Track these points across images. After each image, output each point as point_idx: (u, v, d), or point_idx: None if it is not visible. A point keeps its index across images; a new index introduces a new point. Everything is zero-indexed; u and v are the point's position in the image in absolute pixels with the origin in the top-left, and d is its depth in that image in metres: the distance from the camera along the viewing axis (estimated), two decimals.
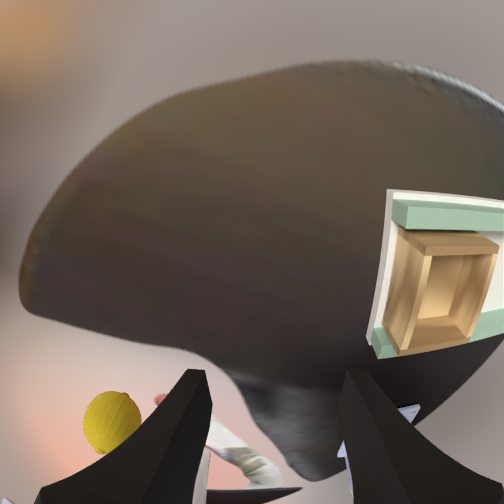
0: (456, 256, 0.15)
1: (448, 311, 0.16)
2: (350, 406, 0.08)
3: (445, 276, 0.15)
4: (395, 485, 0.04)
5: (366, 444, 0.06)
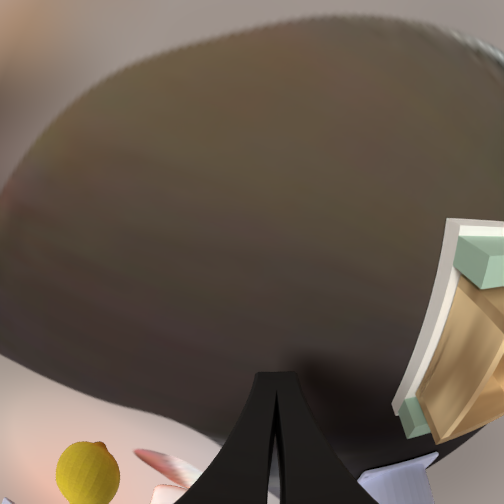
0: None
1: (494, 370, 0.10)
2: (276, 411, 0.08)
3: None
4: (285, 501, 0.04)
5: (281, 452, 0.06)
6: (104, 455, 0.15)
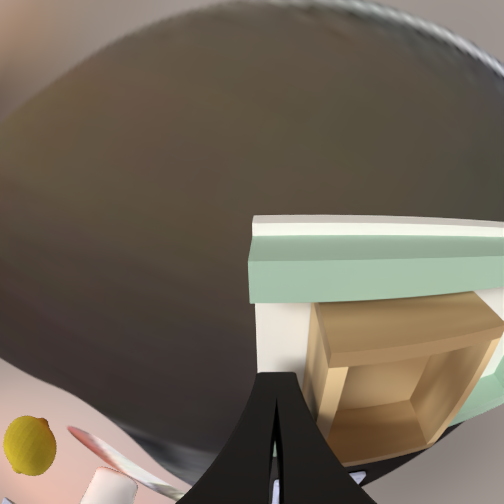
0: None
1: (410, 395, 0.10)
2: None
3: None
4: (284, 502, 0.04)
5: (280, 452, 0.06)
6: (41, 428, 0.16)
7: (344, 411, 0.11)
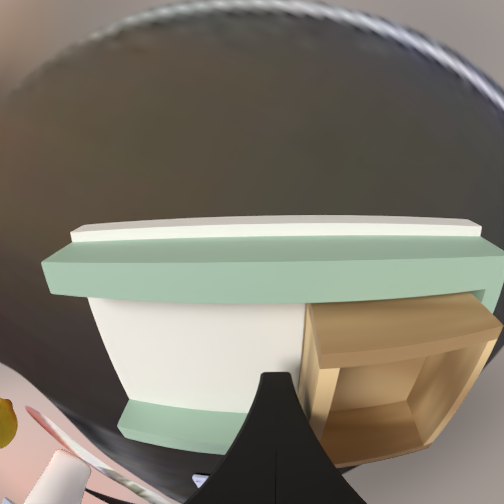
0: None
1: (407, 396, 0.10)
2: None
3: None
4: (275, 502, 0.04)
5: None
6: (4, 406, 0.16)
7: (340, 412, 0.11)
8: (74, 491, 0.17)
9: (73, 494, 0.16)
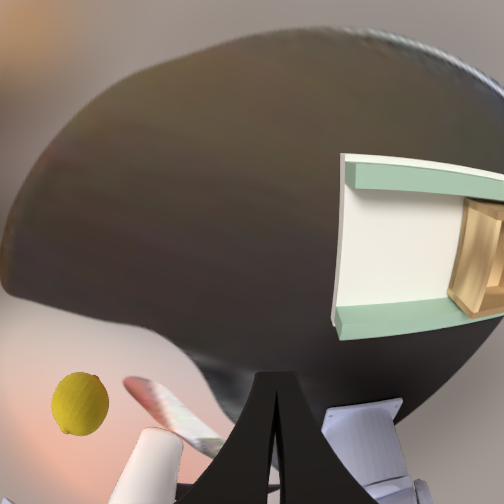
0: None
1: (498, 281, 0.15)
2: (276, 411, 0.08)
3: (498, 247, 0.14)
4: (286, 501, 0.04)
5: (282, 452, 0.06)
6: (96, 382, 0.21)
7: None
8: (173, 471, 0.21)
9: (172, 474, 0.21)
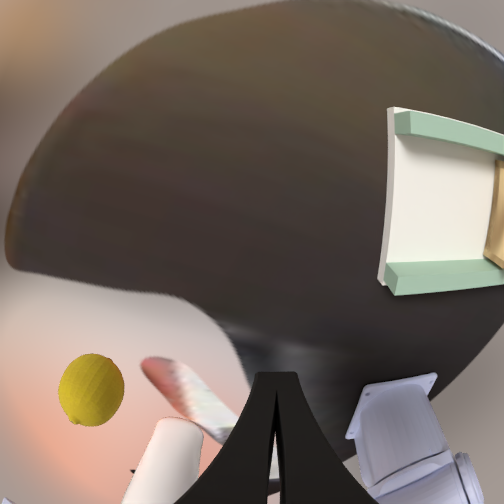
0: None
1: None
2: (276, 411, 0.08)
3: None
4: (286, 501, 0.04)
5: (282, 452, 0.06)
6: (111, 364, 0.20)
7: None
8: (194, 465, 0.20)
9: (194, 469, 0.20)
